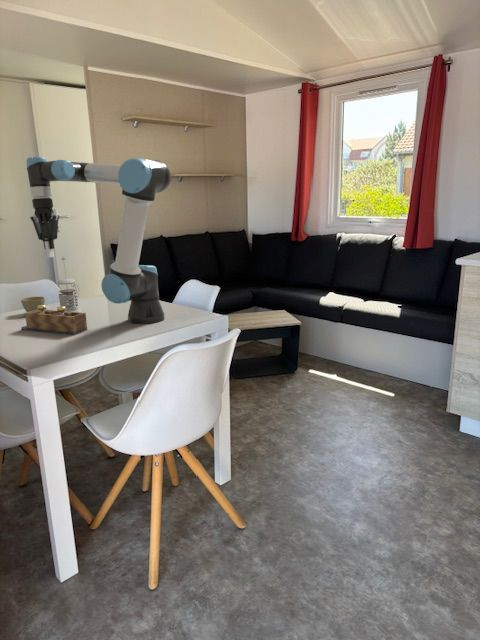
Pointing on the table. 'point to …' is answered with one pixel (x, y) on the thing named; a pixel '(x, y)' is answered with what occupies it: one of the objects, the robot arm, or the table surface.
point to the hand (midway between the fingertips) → (50, 257)
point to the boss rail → (61, 310)
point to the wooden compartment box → (56, 320)
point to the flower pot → (32, 303)
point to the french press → (68, 295)
